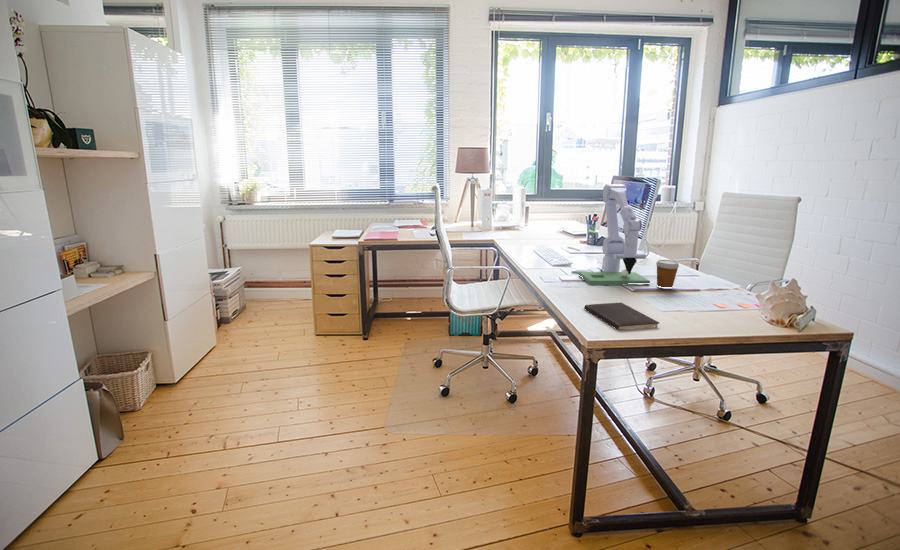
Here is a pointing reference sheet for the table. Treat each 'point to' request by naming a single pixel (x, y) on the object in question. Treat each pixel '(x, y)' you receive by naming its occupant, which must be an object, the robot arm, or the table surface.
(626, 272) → the ball
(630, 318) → the hardcover book
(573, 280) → the table surface
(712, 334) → the table surface
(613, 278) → the putting mat
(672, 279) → the disposable coffee cup
